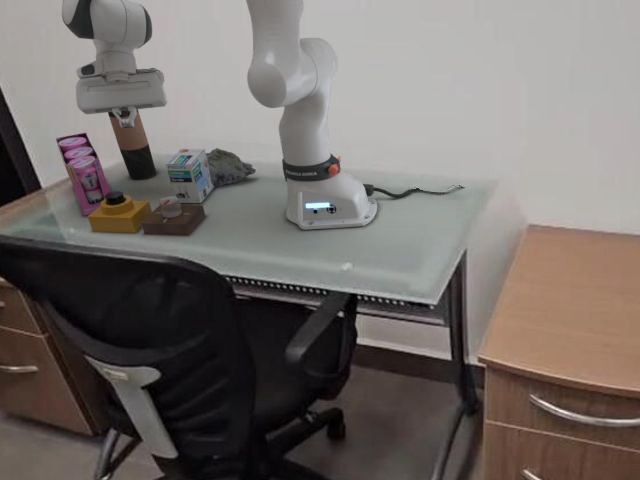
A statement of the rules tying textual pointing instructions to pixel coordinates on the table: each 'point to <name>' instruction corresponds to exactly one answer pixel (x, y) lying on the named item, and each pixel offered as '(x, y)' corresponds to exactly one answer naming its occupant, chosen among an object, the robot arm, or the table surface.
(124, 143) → the travel mug
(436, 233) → the table surface
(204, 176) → the light bulb box
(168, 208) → the knob
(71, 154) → the gum box
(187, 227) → the dial panel
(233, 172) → the mineral rock
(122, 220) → the control box
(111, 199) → the button
